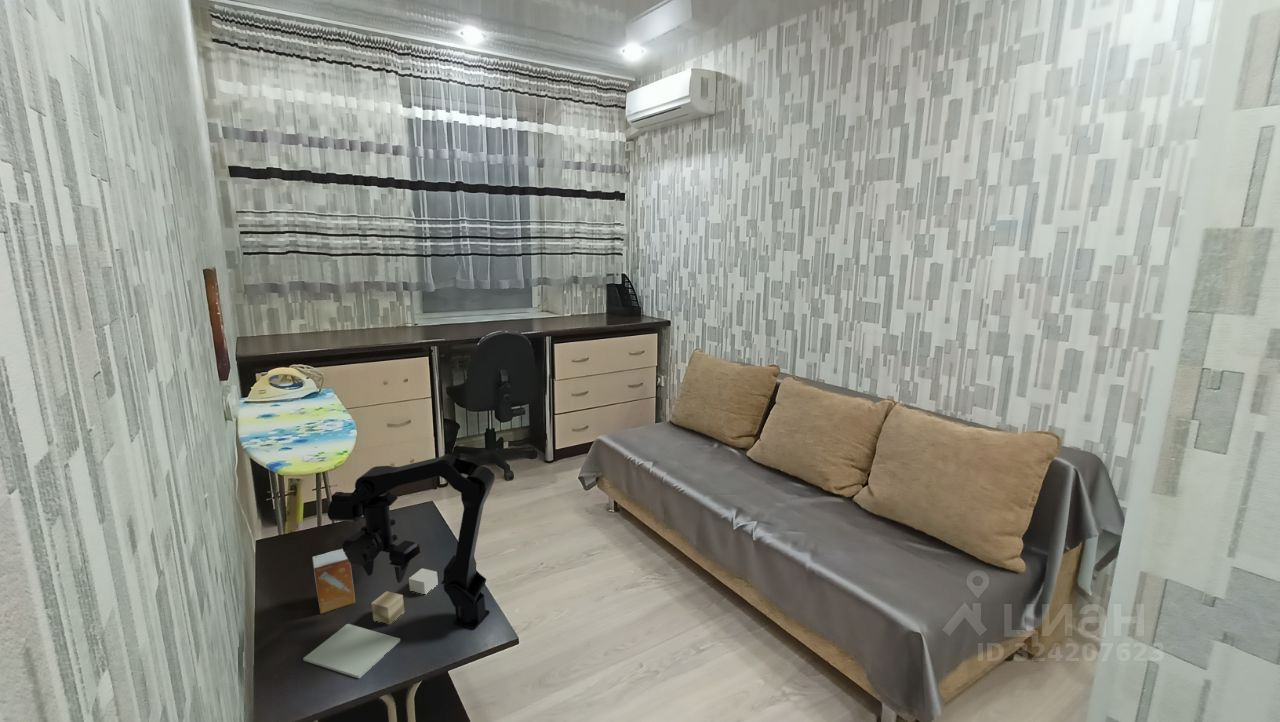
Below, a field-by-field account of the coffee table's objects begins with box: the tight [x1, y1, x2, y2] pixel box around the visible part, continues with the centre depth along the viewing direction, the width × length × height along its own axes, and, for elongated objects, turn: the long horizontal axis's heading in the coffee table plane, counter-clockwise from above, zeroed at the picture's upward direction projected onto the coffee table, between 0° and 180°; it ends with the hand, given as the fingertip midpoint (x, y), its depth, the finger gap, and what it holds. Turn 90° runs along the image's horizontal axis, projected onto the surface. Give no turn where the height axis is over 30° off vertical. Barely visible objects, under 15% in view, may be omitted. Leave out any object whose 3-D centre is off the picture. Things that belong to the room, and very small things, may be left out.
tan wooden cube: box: [370, 590, 405, 626], centre depth 137 cm, size 5×5×5 cm
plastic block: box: [408, 568, 439, 595], centre depth 148 cm, size 5×5×4 cm
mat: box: [303, 623, 401, 679], centre depth 126 cm, size 16×12×1 cm
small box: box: [311, 548, 356, 614], centre depth 142 cm, size 8×6×13 cm
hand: (384, 578), depth 135 cm, fingers open, 9 cm apart
